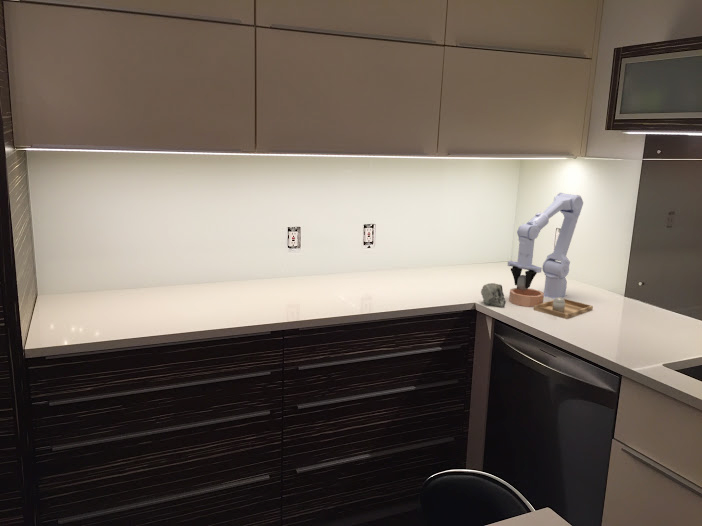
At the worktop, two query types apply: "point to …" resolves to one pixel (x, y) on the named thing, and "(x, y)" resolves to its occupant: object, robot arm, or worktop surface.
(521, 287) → the pebble
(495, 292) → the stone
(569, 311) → the tray
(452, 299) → the worktop surface
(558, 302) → the pebble
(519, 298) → the bowl
